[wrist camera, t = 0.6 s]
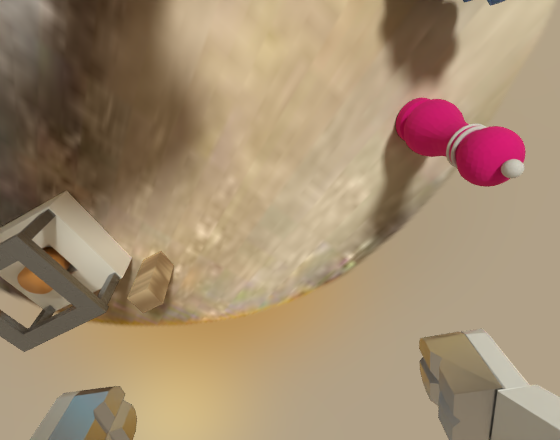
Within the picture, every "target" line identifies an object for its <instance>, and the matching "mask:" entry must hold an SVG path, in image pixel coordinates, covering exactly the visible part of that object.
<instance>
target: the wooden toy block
mask: <svg viewBox="0 0 560 440" xmlns="http://www.w3.org/2000/svg"><path fill="white" fill-rule="evenodd" d="M173 267H174V265H173V264H172V263H171V262H170V260H169V259H168V258H167V257H166V256H165V255H164V254H163V253H162V251H160V252H158V253H156V254H154V255H152V256H150V257H148V258H146V259H144V260H143V262H142V264H141V267H140V269H139V271H138V274H137V276H136V278H135V281H134V283H133V285H132V288H131V290H130V292H129V295H128V297H127V299H128V300H129V301H130V302H132V303H133V304H134V305H135V306H136V307H137V308H138V309H139V310H140V311H141V312H142V313H145V312H147V311H149V310H151V309H153V308H155V307H157V306H159V305H162V304H163V302H164V299H165V295H166V292H167V288H168V285H169V281H170V278H171V274H172V271H173Z"/></svg>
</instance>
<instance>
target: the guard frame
mask: <svg viewBox="0 0 560 440" xmlns="http://www.w3.org/2000/svg"><path fill="white" fill-rule="evenodd" d="M55 216H56V215H55V214H54V213H53V212H52V211H51V210H50V209H47V210H45V211H43V212H42V213H40V214H39V215H38V216H37V217H36V218H35V219H34V220H33V221H32V222H31V223H29V224H28V225H27V226H26V227H25V228H24V229H23V230H22V231H21V232H19V233H18V234H16V235H14V236H12V237H10V238H9V239H7V240H5V241H3V242H1V243H0V270H2V269H4V268H6V267H8V266H9V265H11V264H13V263H15V262H17V261H19V262H20V263H22V264H23V265H24V266H25V267H27V268H28V269H29V270H30V271H32V272H33V273H34V274H35V275H36V276H38V277H39V278H40V279H41V280H43V281H44V282H45V283H46V284H48V285H49V286H50V287H51V288H52V289H54V290H55V291H56V292H57V293H59V294H60V295H61V296H62V297H64V298H65V299H66V300H67V301H68V302H70V303H71V304H72V305H73V306H72V307H70V308H68V309H66V310H64V311H62V312H60V313H58V314H56V315H54V316H52V315H53V313H54V312H55V309H54V308H53V307H52V306H50V305H49V306H47V307H45V308H44V309H43V310H42V311H41V313H40V314H39V316H38V317H37V318H36V320H35V321H34V323H33V324H32V325H31V327H30V328H28V329H27V328H25V327H24V326H23V325H21V324H20V323H18V322H17V321H15V320H14V319H12V318H11V317H10V316H8V315H7V314H5V313H4V312H3V311H1V310H0V336H1V337H2V338H4V339H5V340H7V341H8V342H10V343H11V344H13V345H14V346H16V347H17V348H19V349H20V350H22V351H24V352H25V351H27V350H30V349H32V348H34V347H35V346H38V345H40V344H42V343H44V342H46V341H48V340H50V339H52V338H54V337H56V336H58V335H60V334H62V333H64V332H67V331H69V330H71V329H73V328H75V327H77V326H79V325H81V324H83V323H85V322H87V321H89V320H91V319H93V318H95V317H97V316H100V315H102V314H104V313H106V311H107V309H108V306H107V304H108V302H109V300H110V298H111V296H112V294H113V292H114V290H115V288H116V286H117V284H118V282H119V280H120V278H121V277H120V276H119V275H118V274H116V273H115V272H114V273H112V274H110V275H108V277H107V279H106V281H105V283H104V285H103V287H102V288H101V290H100V292H99V294H98V296H96V295H95V294H93V293H92V292H91V291H90V290H89V289H88V288H86V287H85V286H84V285H83V284H82V283H81V282H80V281H78V280H77V279H76V278H75V277H74V276H73V275H72V274H70V273H69V272H68V271H67V270H66V269H65V268H64V267H62V266H61V265H60V264H59V263H58V262H57V261H55V260H54V259H53V258H52V257H51V256H50V255H49V254H47V253H46V252H45V251H44V250H43V249H42V248H41V247H39V246H38V245H37V244H36V243H35V242H34V241H32V239H33V238H34V237H35V236H36V235H37V234H38V233H39V232H40V231H41V230H42V229H43V228H44V227H45V226H46V225H47V224H48V223H49V222H50V221H51V220H52V219H53V218H54V217H55ZM51 316H52V317H51Z"/></svg>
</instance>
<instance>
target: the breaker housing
mask: <svg viewBox="0 0 560 440" xmlns="http://www.w3.org/2000/svg"><path fill="white" fill-rule="evenodd" d="M47 209H50V210H51V211H52V212H53V213H54V214H55V215H56V216H55V217H54V218H53V219H52V220H51V221H50V222H49V223H48V224H47V225H46V226H45V227H44V228H43V229H42V230H41V231H40V232H39V233H38V234H37V235H36V236H35V237H34V238H33V239H32V241H34V242H35V243H36V244H37V245H38V246H39V247H41V248H42V249H43V248H46V247H53V248H54V249H55V250H56V251H57V252H58V253H59V254H61V255H62V256H63V257H64V258H65V259H66V260H67V261H68V262H70V263H71V264H70V266H69V268H68V269H67V271H68V272H69V273H70V274H72V275H73V276H74V277H75V278H76V279H77V280H78V281H80V282H81V283H82V284H83V285H84V286H85V287H86V288H88V289H89V290H90V291H91V292H92V293H93V292H95V291H97V290H99V289H101V288H102V287H103V285H104V283H105V281H106V279H107V277H108V275H110V274H112V273H114V272H115V273H116V274H118V275H119V276H120V277H121V278H123V276H124V274H125V272H126V270H127V268H128V265H129V263H130V261H131V259H132V257H131V256H130V255H129V254H128V253H127V252H126V251H125V250H124V249H123V248H122V247H121V246H120V245H119V244H118V243H117V242H116V241H115V240H114V239H113V238H112V237H111V236H110V235H109V234H108V233H107V232H106V231H105V229H104V228H103V227H102V226H101V225H100V224H99V223H98V222H97V221H96V220H95V219H94V218H93V217H92V216H91V215H90V214H89V213H88V212H87V211H86V210H85V209H84V208H83V207H82V206H81V205H80V204H79V203H78V202H77V201H76V200H75V199H74V198H73V197H72V196H71V195H70V194H69V192H68V191H67V190H66V191H65V192H63V193H61V194H59V195H57V196H56V197H54V198H52V199H50V200H49V201H47V202H45V203H43V204H42V205H40V206H38V207H36V208H34V209H33V210H31V211H29V212H27V213H26V214H24V215H22V216H20V217H19V218H17V219H15V220H13V221H12V222H10V223H8V224H6V225H4V226H3V227H1V228H0V243H1V242H3V241H5V240H7V239H9V238H10V237H12V236H14V235H16V234H18V233H19V232H21V231H22V230H23V229H24V228H25V227H26V226H27V225H28V224H29V223H31V222H32V221H33V220H34V219H35V218H36V217H37V216H38V215H39V214H40V213H42V212H43V211H45V210H47ZM24 268H25V266H24V265H23V264H22V263H20V262H19V261H17V262H15V263H13V264H11V265H9V266H8V267H6V268H4V269H2V270H0V277H2V278H3V279H4V280H6V281H7V282H8V283H10V284H11V285H12V286H13V287H15V288H16V289H17V290H19V291H20V292H21V293H23V294H24V295H25V296H27V297H28V298H29V299H31V300H32V301H33V302H35V303H36V304H37V305H39V306H40V307H41V308H42V309H44V308H45V307H47V306H49V305H50V306H52V307H53V308H54V309H55V311H57V310H59V309H61V308H63V307H65V306H67V305H69V304H71V303H70V302H68V301H67V300H66V299H65V298H64V297H62V296H61V295H60V294H59V293H57V292H56V291H55V290H54V289H53V290H52V291H50V292H48V293H46V294H35V293H31V292H29V291H27V290H25V289H24V288H22V287H21V286H20V284H19V283H18V280H17V277H18V274H19V273H20V272H21V271H22V270H23V269H24ZM121 278H120V279H121Z"/></svg>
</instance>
